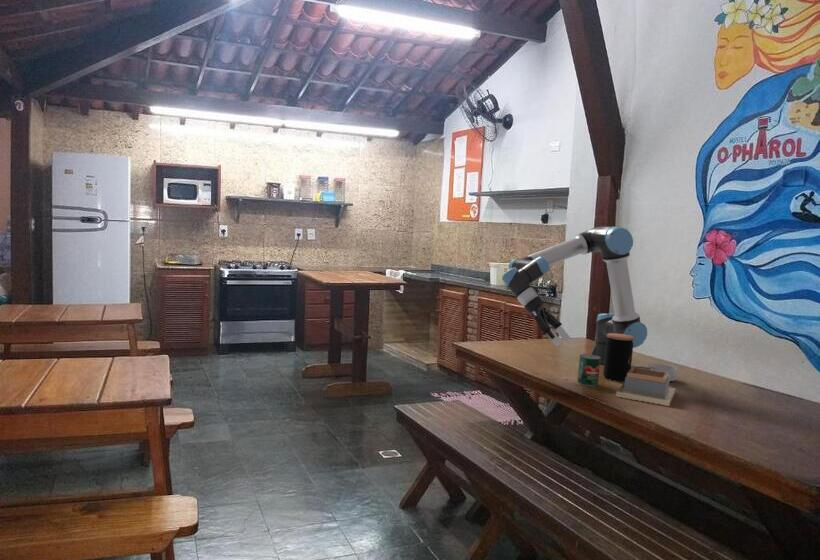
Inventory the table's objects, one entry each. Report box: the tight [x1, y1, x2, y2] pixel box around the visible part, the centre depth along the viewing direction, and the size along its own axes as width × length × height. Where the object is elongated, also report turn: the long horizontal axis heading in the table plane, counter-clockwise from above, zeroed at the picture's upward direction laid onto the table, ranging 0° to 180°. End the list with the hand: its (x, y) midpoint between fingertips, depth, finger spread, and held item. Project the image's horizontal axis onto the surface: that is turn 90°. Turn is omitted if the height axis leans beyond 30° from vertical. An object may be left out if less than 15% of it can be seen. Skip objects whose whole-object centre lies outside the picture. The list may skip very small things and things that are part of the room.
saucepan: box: [631, 363, 678, 383], centre depth 253 cm, size 12×20×6 cm, turn 102°
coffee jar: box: [602, 333, 634, 382], centre depth 249 cm, size 11×11×18 cm
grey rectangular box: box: [615, 366, 676, 407], centre depth 225 cm, size 22×18×8 cm
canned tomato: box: [576, 353, 601, 387], centre depth 237 cm, size 8×8×11 cm
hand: (564, 342), depth 241 cm, fingers open, 13 cm apart
